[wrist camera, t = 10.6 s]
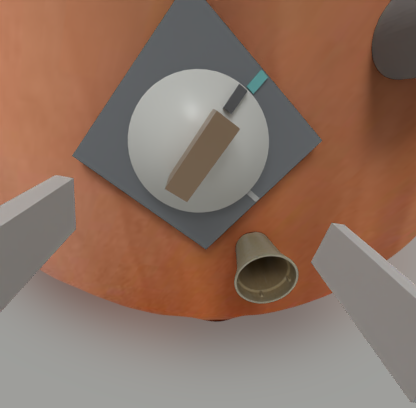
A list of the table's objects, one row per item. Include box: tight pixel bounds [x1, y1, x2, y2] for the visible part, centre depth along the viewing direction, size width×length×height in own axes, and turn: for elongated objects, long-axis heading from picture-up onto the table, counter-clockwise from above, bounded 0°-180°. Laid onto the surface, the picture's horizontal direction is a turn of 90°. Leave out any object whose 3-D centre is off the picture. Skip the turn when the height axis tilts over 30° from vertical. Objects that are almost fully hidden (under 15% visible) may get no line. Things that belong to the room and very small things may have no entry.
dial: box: [128, 69, 269, 213], centre depth 27 cm, size 18×18×6 cm
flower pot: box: [234, 232, 298, 303], centre depth 36 cm, size 9×9×9 cm
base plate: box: [72, 0, 322, 249], centre depth 30 cm, size 24×24×2 cm
